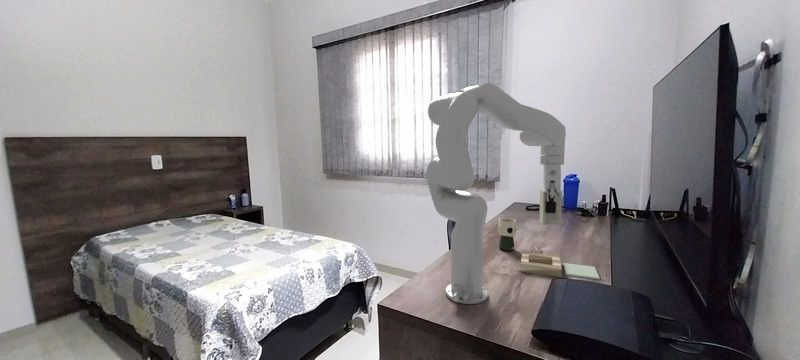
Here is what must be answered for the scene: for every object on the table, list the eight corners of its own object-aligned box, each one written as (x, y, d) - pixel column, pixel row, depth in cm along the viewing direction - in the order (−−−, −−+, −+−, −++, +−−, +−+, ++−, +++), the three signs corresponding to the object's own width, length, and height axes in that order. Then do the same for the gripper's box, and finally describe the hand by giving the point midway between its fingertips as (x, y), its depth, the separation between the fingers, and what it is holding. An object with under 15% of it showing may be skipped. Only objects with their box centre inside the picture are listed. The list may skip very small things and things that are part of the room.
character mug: (504, 254, 128) (505, 223, 126) (491, 249, 134) (491, 220, 132) (521, 249, 134) (522, 219, 132) (508, 244, 140) (509, 216, 138)
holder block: (561, 277, 106) (561, 268, 105) (520, 271, 111) (520, 263, 110) (558, 263, 117) (559, 255, 117) (521, 258, 123) (522, 251, 122)
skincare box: (556, 222, 113) (557, 189, 112) (561, 225, 109) (562, 190, 107) (538, 221, 114) (539, 189, 112) (542, 224, 109) (543, 190, 108)
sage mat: (599, 279, 103) (599, 277, 103) (565, 275, 107) (565, 273, 107) (594, 268, 112) (594, 266, 112) (563, 264, 116) (563, 262, 116)
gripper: (566, 161, 99) (564, 217, 101) (561, 158, 115) (559, 206, 117) (541, 161, 102) (539, 215, 104) (539, 158, 118) (537, 205, 120)
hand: (550, 210), depth 111 cm, fingers closed on skincare box, 5 cm apart
